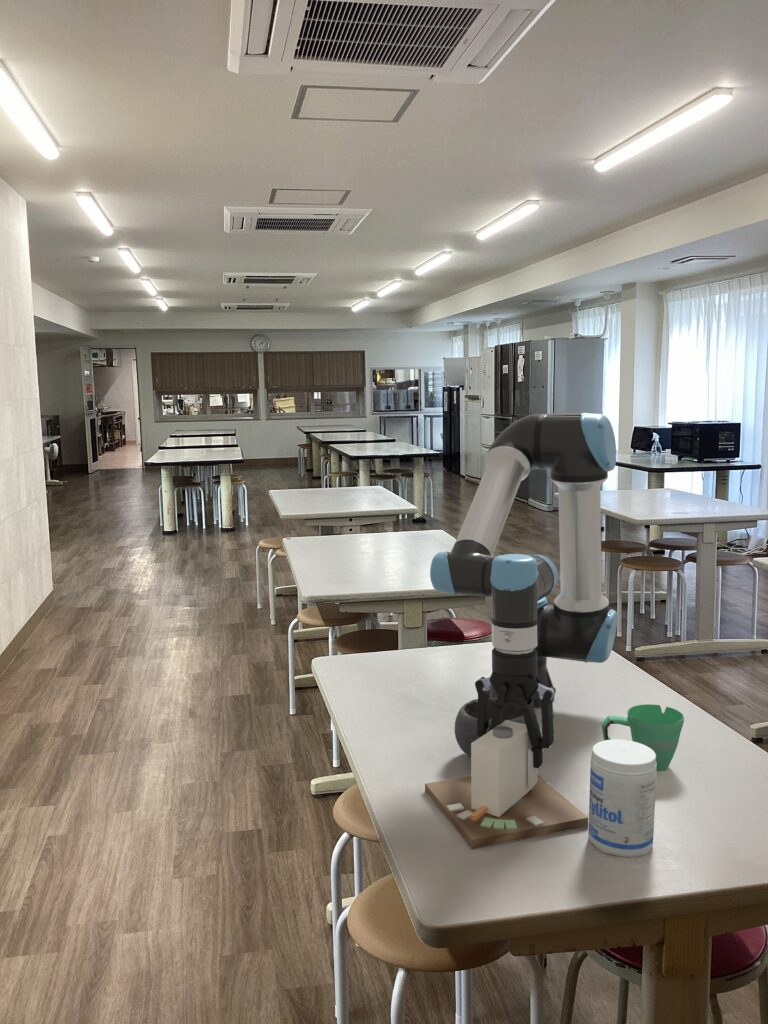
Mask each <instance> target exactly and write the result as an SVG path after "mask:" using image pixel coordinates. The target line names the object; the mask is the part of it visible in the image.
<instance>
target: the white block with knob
mask: <svg viewBox="0 0 768 1024" xmlns="http://www.w3.org/2000/svg"><path fill="white" fill-rule="evenodd" d="M531 746H532V745H531V742H530V738H529V734H528V731H527V727H526V724H522V723H518V722H513V721H509V720H506V721H504V722H503V723H501V724H500V725H498V726H497V727H495V728H493V729H492V730H491V731H489V732H488V733H486V734H485V735H483V736H482V737H480V738H479V739H477V740H476V741H474V742H473V743H471V757H470V763H471V764H470V765H471V768H470V770H471V771H470V772H471V774H470V776H471V808H472V809H475V810H476V811H475V812H474V813H473V814H471V820H474V821H476V820H477V819H479V818H480V817H481V816H482V815H483V814H485V813H488V814H491V815H494V816H497V817H500V816H501V815H502V814H503V813H504V812H505V811H507V810H508V809H509V808H510V807H511V806H512V805H514V804H515V803H516V802H517V801H518V800H519V799H521V798H522V797H523V796H524V795H525V794H527V793H528V792H529V791H530V790H531V789H532V788H528V749H529V748H530V747H531Z"/></svg>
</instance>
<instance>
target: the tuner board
mask: <svg viewBox="0 0 768 1024" xmlns="http://www.w3.org/2000/svg"><path fill="white" fill-rule="evenodd" d="M424 792H425V794H426V795H427V796H428V797H429V798H430V800H431V802H433V804H434V805H435V806H436V807H437V808H438V809H439V811H440V812H441V813H442V814H443V815H444V817H445V818H446V819H447V820H448V822H449V823H450V824H451V825H452V826H453V828H454V829H455V831H456V832H458V834H459V835H460V836H461V838H462V839H463V840H464V841H465V842H466V844H467V845H468V846H469V847H470V848H471V850H475V849H481V848H484V847H491V846H495V845H496V846H497V845H500V844H502V845H503V844H507V843H511V842H515V841H521V840H526V839H532V838H536V837H542V836H547V835H551V834H556V833H562V832H568V831H573V830H577V829H578V830H579V829H583V828H589V816H587V815H586V814H585V813H583V811H581V809H579V808H578V807H577V806H576V805H574V804H573V803H572V802H570V800H568V799H567V798H566V797H565V796H564V795H562V794H561V793H560V792H559V791H558V790H557V789H555V788H554V787H553V786H552V785H551V784H550V783H548V782H547V781H546V780H545V779H544V778H543V777H541V775H540V774H538V773H537V783H536V784H535V785H534V787H533V788H532V789H531V790H530V791H529V792H528V793H527V794H525V795H524V796H523V797H522V798H521V799H519V800H518V801H517V802H516V803H515V804H514V805H512V806H511V807H510V808H509V809H508V810H507V811H505V812H504V813H503V814H502V815H501V816H500V817H497V816H494V815H491V814H488V813H485V814H483V815H482V816H481V817H480V818H479V819H477V820H476V821H474V820H471V817H470V818H468V819H465V820H462V819H460V818H458V817H457V814H459V813H462V812H464V811H466V810H468V811H470V812H472V813H474V812H475V811H476V810H475V809H472V808H471V775H469V776H464V777H457V778H452V779H451V778H450V779H444V780H439V781H432V782H427V783H424ZM458 803H461V805H462V806H463V807H464V809H463V810H457V811H452V812H450V811H449V809H448V808H447V805H453V804H458ZM531 816H536V817H537V818H539V819H540V820H542V821H543V822H544V824H542V825H539V826H534V825H533V824H532V823H530V822H529V821H527V820H526V818H528V817H531ZM485 817H486V818H491V819H499V820H515V823H516V826H517V829H508V830H507V829H506V826H505V824H504V829H493V826H494V823H493V825H492V827H491V828H487V827H482V826H481V823H482V821H483V820H484V818H485Z"/></svg>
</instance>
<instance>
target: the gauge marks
mask: <svg viewBox="0 0 768 1024" xmlns="http://www.w3.org/2000/svg"><path fill="white" fill-rule="evenodd" d="M447 808H448V809H449V811H450V812H452V811H457V810H463V809H464V807H463V806H462V805H461V803H458V804H453V805H447ZM471 814H473V813H472V812H470V811H468V810H466V811H464V812H462V813H459V814H457V817H458V818H460V819H462V820H465V819H468V818H470V817H471ZM526 820H527V821H529V822H530V823H532V824H533V825H534V826H539V825H542V824H544V822H543V821H542V820H540V819H539V818H537V817H536V816H531V817H528V818H526ZM493 823H494V826H493V829H504V824H505V826H506V829H507V830H508V829H517V826H516V823H515V820H499V819H491V818H486V817H485V818H484V820H483V821H482V823H481V826H482V827H487V828H491V827H492V825H493Z"/></svg>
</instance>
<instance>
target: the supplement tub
mask: <svg viewBox="0 0 768 1024" xmlns="http://www.w3.org/2000/svg"><path fill="white" fill-rule="evenodd" d="M656 766H657V763H656V754H655V752H654V751H653V750H652V749H651V748H649V747H647V746H645V745H643V744H640V743H637V742H633V741H632V740H629V739H617V738H616V739H613V738H612V739H611V740H605V741H604V740H602V741H599V742H596V743H595V744H594V745H593V746H592V750H591V757H590V768H589V773H590V775H589V797H588V798H589V799H588V800H589V801H588V802H589V805H588V833H587V834H588V839H589V840H590V842H591V844H592V845H593V846H594V847H595V848H597V849H598V850H600V851H602V852H603V853H606V854H608V855H612V856H617V857H621V858H622V857H623V858H637V857H640V856H643V855H645V854H647V853H649V852H650V850H651V849H653V845H654V834H655V833H654V832H655V831H654V830H655V829H654V828H655V809H656V791H657V790H656V789H657V772H656Z"/></svg>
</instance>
